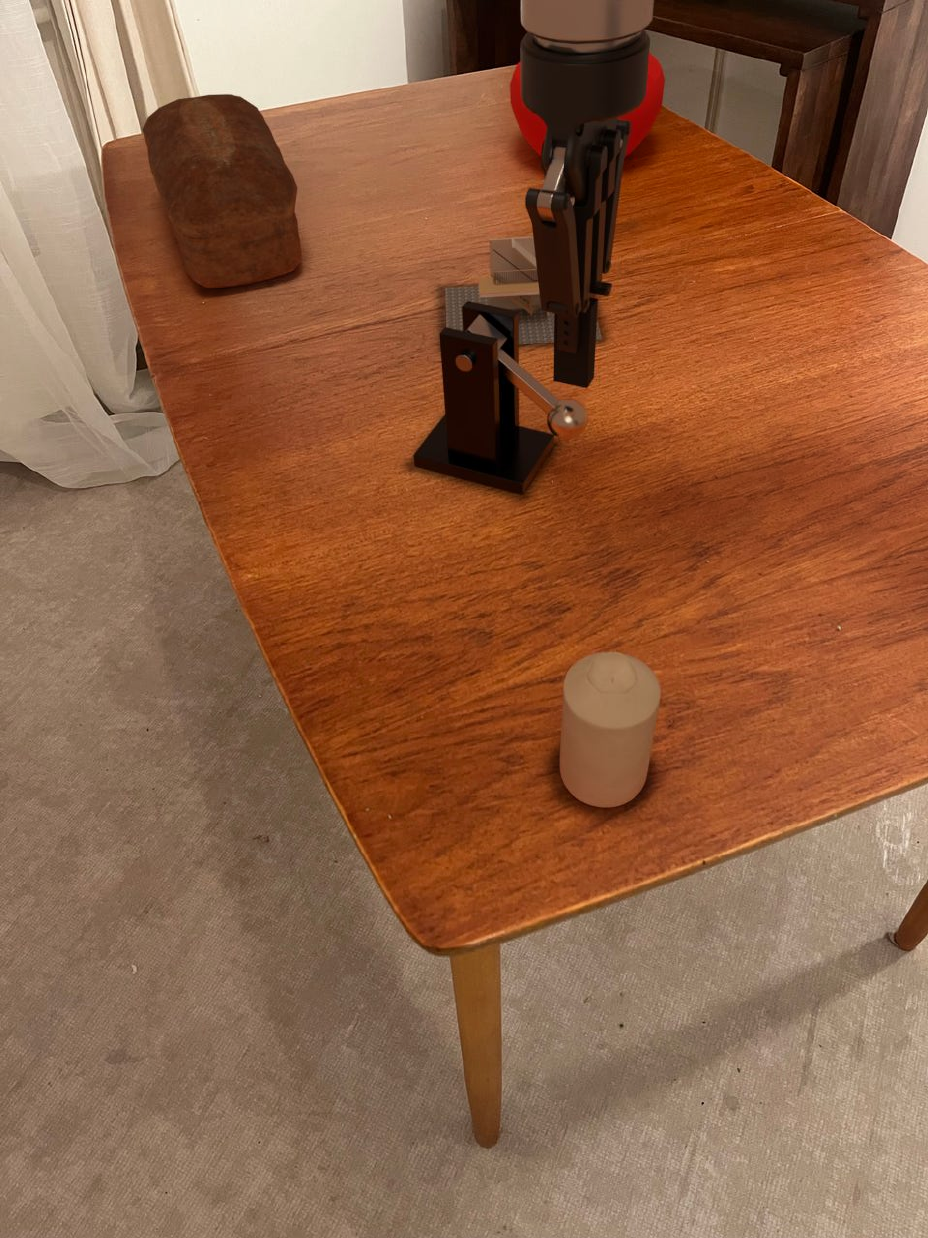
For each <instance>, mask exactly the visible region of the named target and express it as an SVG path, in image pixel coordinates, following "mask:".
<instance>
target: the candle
mask: <svg viewBox="0 0 928 1238" xmlns="http://www.w3.org/2000/svg"><path fill="white" fill-rule="evenodd" d="M661 696H662V689H661V685H660V681H659V679H658V677H657V675H656V673H655V672H654V671H653V670H652V668H651V667H650V666H649V665H647V663H645V662H644V661H642V660H641V659H638V658H637V657H635V656H633V655H630V654H626V653H623V652H618V651H600V652H595V653H591V654H589V655H586V656H584V657H582V658H581V659H579V660H577V661H576V662H575V663H574V664H573V665H572V666H571V667H570V668H569V669H568V671H567V673H566V675H565V676H564V680H563V687H562V705H561V723H560V725H561V726H560V745H559V746H560V747H559V773H560V777H561V780H562V783H563V785H564V787H565V788H566V789H567V791H568V792H569V793H570V795H572V796H573V797H574V798H576V799H577V800H578V801H580V802H581V803H584V804H586V805H589V806H592V807H596V808H614V807H620V806H622V805H625V804H627V803H628V802H630V801H632V800H633V799H635V798H636V797H637V796H638V795H639V793H640V792H641V791H642V789H643V787H644V785H645V784H646V780H647V776H648V771H649V767H650V766H649V765H650V761H651V755H652V748H653V744H654V737H655V732H656V726H657V721H658V714H659V708H660V703H661Z"/></svg>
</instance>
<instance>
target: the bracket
mask: <svg viewBox="0 0 928 1238" xmlns="http://www.w3.org/2000/svg"><path fill="white" fill-rule="evenodd" d="M479 315H481V316H482V317H484V318H485V319H486V320H487V321H488V322H489V323H490V324H491V325H493V326H494V327H495V328H496V329H497V330H498V331H499V332H501V333H502V334H503V335H504V336H505V337H506V338H507V340H506V341H505V342H504V344H503V345H502V346H501V347H500V348H501V349H502V350H503V351H504V352H505V353H506V354H508V355H509V356H510V357H511V358H512V359H513V360H514V361H516V362H517V363H518V364H519V365H520V344H519V312H518V311H514V310H510V309H505V308H500V307H495V306H490V305H485V304H480V303H475V302H471V301H467V302H466V303H465V304H464V305H463V306H462V317H463V331H461V330H456V329H452V328H447V327H446V326H444V327H443V328H442V329H441V330H440V332H439V333H438V337H439V349H440V350H439V351H440V363H441V376H442V377H441V378H442V390H443V392H442V393H443V404H444V414H443V416H442V417H441V418H440V420H439V421H438V422H437V423H436V424H435V426H434V427H433V429H432V430H431V431H430V433H429V434H428V435H427V436H426V438H425V439H424V440H423V442H422V443H421V444H420V445H419V447H418V448H417V449H416V451H415V452H413V454H412V455H413V456H412V457H413V465H414V467H418V468H422V469H426V470H429V471H433V472H437V473H440V474H445V475H448V476H453V477H455V478H458V479H463V480H467V481H470V482H473V483H478V484H480V485H484V486H488V487H493V488H496V489H500V490H503V491H507V492H511V493H515V494H517V495H523V494H524V493H525V491H526V490H527V488H528V487H529V485H531V482H532V481H533V479H534V477H535V476H536V474H537V472H538V471H539V469H540V468H541V466H542V465H543V463H544V462H545V460H546V458H547V457H548V455H549V453H551V451H552V449H553V447H554V446H555V436H554V435H553V434H552V433H551V432H547V431H541V430H537V429H533V428H530V427H525V426H523V425H522V426H521V425H520V390H519V389H518V388H517V387H516V386H515V385H514V384H512V383H511V382H510V381H509V380H508V379H507V378H506V377H504V376H503V375H502V374H501V373H500V372H499V371H498V339H497V338H493V337H489V336H484V335H480V334H475V333H470V332H466V330H467V329H468V328H469V327H470V325H471V324H472V323H473V322H474V320H475V319H476V318H477V317H478V316H479Z"/></svg>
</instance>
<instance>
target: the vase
mask: <svg viewBox="0 0 928 1238" xmlns="http://www.w3.org/2000/svg"><path fill="white" fill-rule="evenodd" d="M665 84H666V78H665V73H664V68H663V66H662V64H661V62H660V61H659V59H658V58H656V57H655V56H654V55H653V54H652V53H651V52H649V61H648V74H647V87H646V95H645V98H644V100H643V102H642V103H641V104H640V105H639V106H638V107H637V108H636V109H635V110H633V111H632V112H630V113H628V114H626V115H624V116H622V117H619V118H618V119H622V120H630V122H631V133H630V135H629V139H628V144H627V148H626V153H625V157H624V159H625V158H627V156H629V155H630V154H633V152H634V151H635V150H636V149H637V147H638V146H639V145H640V144H641V143H642V142H643V140H644V139H645V138H646V137H647V136H648V134H649V133H650V132H651V130H652V127H653V126H654V124H655V122H656V120H657V118H658V116H659V113H660V111H661V110H662V107H663V100H664V94H665V86H666V85H665ZM509 93H510V95H509V97H510V105H511V106H510V107H511V110H512V112H513V115H514V118H515V120H516V122H517V125H518V127H519V130H520V132H521V135H522V137H523V138H524V139H525V141H526V142H527V143H528V144H529V146H530V147H531V148H532V150H533V151H535V152H536V153H537V155H538V156H540V157H541V150H542V144H543V141H544V140H545V135H546V131H547V126H546V124H545V122H544V121H543V120H542V119H541V118H540V117H539V116H538V115H536V114H534V113H532V112H531V111H529V110H528V109H527V108H526V107H525V105H524V103H523V101H522V98H521V60H519V62H518V63H516V65H515V68H514V71H513V74H512V77H511V80H510V83H509Z"/></svg>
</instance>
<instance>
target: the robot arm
mask: <svg viewBox="0 0 928 1238" xmlns="http://www.w3.org/2000/svg"><path fill="white" fill-rule="evenodd" d="M654 4H655V0H520V24H521V26H522V27H523V28H524V29H525V31H526V33H525V35H524V36H523V38H522V39H521V40H520V44H519V45H520V61H521V98H522V101H523V103H524V105H525V107H526V108H527V109H528V110H529V111H531V112H532V113H534V114H536V115H538V116H539V117H540V118H541V119H542V120H543V121H544V122H545V124H546V126H547V131H546V135H545V140H544V141H543V144H542V150H541V156H540V167H541V169H542V171H543V172H544V181H543V183H542V185H541V188H533V187H529V188H528V189H527V190H526V194H525V199H524V205H525V209H526V212H527V215H528V217H529V219H530V222H531V228H532V237H533V239H534V248H535V257H536V266H537V275H538V284H539V293H540V302H541V309H542V311H545V312H550V313H554V342H553V370H552V371H553V373H552V374H553V378H552V379H553V382H556V383H561V384H566V385H571V386H574V387H578V388H579V387H580V388H583V389H584V388H585V389H588V388H589V386H590V384H591V383H592V382H593V380H594V379H595V364H596V347H597V346H596V345H597V340H596V328H597V321H598V307H599V305H598V304H599V298H596V297H595V295H596V296H603V297H609V296H610V294H611V291H612V286H613V283H611V282H606V281H603V275H607V274H609V272H610V270H611V266H612V255H613V246H614V239H615V233H616V232H615V231H616V226H617V225H616V224H617V218H618V217H617V216H618V210H619V209H618V208H619V203H620V202H619V201H620V195H621V187H622V178H623V170H624V163H625V158H626V157H625V153H626V148H627V144H628V139H629V135H630V133H631V122H630V120H622V119H618V118H619V117H622V116H624V115H626V114H628V113H630V112H632V111H633V110H635V109H636V108H637V107H638V106H639V105H640V104H641V103H642V102H643V100H644V98H645V95H646V87H647V74H648V61H649V53H650V46H651V38H650V36H649V34H648V33H647V31H646V29H645V28H647V27H648V26H649V25H650V24H651V23H652V21H653V19H654ZM624 157H625V158H624Z"/></svg>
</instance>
